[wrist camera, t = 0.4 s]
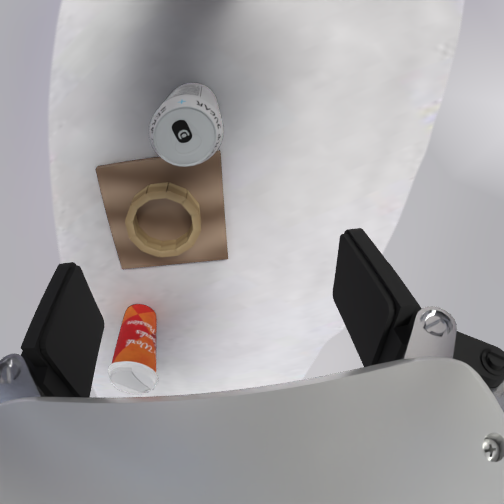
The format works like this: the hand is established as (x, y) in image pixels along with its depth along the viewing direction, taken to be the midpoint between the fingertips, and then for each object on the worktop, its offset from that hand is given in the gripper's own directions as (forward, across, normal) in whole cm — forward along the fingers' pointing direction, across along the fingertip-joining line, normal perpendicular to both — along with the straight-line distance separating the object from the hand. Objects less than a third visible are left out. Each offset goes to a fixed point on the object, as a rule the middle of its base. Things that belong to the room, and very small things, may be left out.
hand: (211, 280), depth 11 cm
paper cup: (+31, +15, +31) cm, 47 cm away
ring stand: (+31, +7, +12) cm, 34 cm away
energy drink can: (+31, +2, -2) cm, 31 cm away
